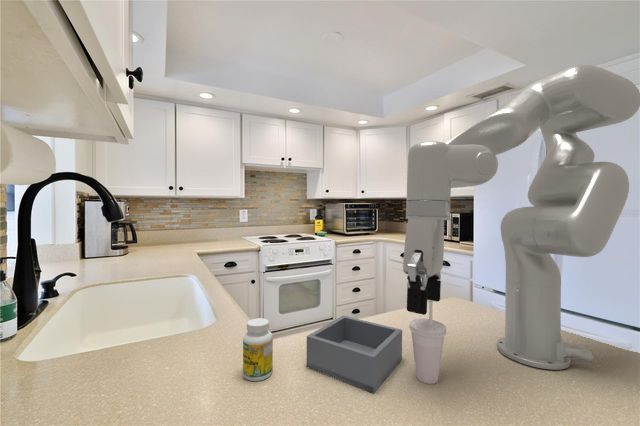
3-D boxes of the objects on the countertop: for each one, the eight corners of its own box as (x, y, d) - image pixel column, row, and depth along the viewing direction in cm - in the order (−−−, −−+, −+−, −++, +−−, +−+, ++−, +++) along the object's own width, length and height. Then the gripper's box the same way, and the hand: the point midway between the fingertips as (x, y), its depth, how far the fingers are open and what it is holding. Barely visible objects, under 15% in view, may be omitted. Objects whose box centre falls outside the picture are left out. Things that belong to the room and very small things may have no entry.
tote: (401, 358, 59) (402, 329, 59) (373, 393, 48) (374, 357, 48) (342, 341, 67) (343, 315, 67) (306, 367, 55) (306, 336, 56)
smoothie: (450, 390, 49) (450, 307, 49) (410, 385, 50) (411, 305, 50) (441, 370, 55) (442, 297, 55) (407, 366, 56) (407, 295, 56)
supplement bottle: (278, 370, 54) (278, 320, 54) (259, 385, 49) (259, 329, 50) (256, 363, 57) (257, 314, 57) (236, 376, 52) (236, 323, 52)
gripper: (419, 212, 62) (417, 292, 61) (390, 209, 47) (386, 313, 47) (458, 213, 57) (455, 299, 57) (438, 210, 43) (434, 324, 43)
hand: (424, 305), depth 52 cm, fingers open, 9 cm apart
